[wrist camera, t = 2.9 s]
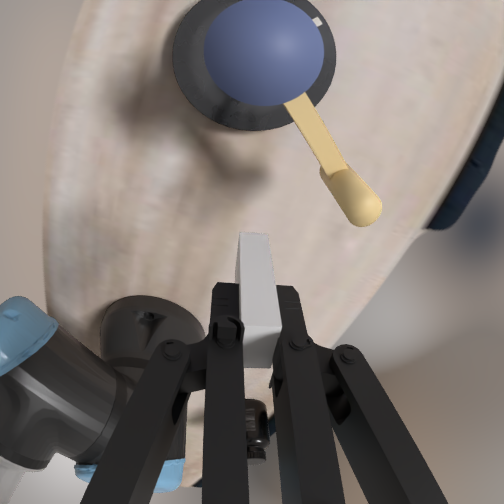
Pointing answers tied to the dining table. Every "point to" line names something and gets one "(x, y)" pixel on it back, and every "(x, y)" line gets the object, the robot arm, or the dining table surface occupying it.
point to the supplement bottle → (256, 431)
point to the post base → (217, 101)
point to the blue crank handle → (284, 84)
